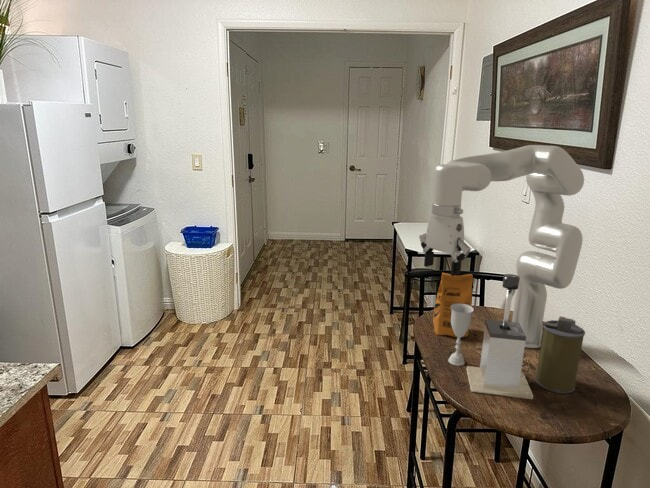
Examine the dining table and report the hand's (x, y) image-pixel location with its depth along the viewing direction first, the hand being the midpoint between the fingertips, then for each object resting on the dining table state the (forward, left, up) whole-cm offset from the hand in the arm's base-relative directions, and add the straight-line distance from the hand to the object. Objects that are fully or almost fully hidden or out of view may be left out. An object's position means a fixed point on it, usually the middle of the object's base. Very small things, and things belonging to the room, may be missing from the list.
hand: (441, 270), depth 124 cm
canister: (-34, -1, -32) cm, 47 cm away
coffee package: (-7, -29, -32) cm, 44 cm away
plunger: (-18, +3, -21) cm, 28 cm away
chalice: (-8, -8, -32) cm, 34 cm away
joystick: (-18, +3, -32) cm, 37 cm away
